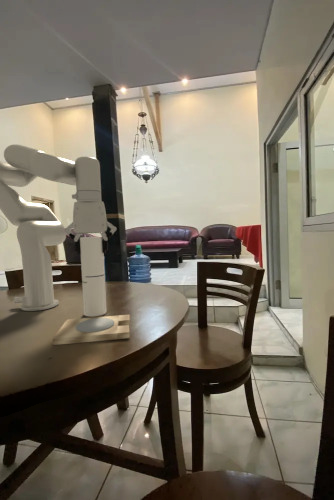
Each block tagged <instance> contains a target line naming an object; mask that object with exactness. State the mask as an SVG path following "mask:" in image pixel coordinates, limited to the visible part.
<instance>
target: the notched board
mask: <svg viewBox="0 0 334 500" xmlns="http://www.w3.org/2000/svg"><path fill="white" fill-rule="evenodd" d="M130 323H131V315H130V314H119V315H107V316H105V315H104V316H93V317H83V318H70V319H69V318H67V319H66V320H65V321H64V323H63V324H62V326H61V327H60V328H59V330H58V331H57V333H55V335H54V336H53V338H52V345H53V346H57V345H58V346H59V345H68V344H69V345H71V344H78V343H79V344H81V343H90V342H91V343H92V342H101V341H113V340H122V339H123V340H125V339H130V330H131V329H130Z"/></svg>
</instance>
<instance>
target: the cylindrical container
mask: <svg viewBox="0 0 334 500" xmlns="http://www.w3.org/2000/svg"><path fill="white" fill-rule="evenodd" d="M102 241H103V237H102V236H84V237H83V236H81V237H80V251H81V254H80V263H81V264H80V266H81V267H80V269H81V283H82V285H81V287H82V301H83V315H84V316H85V317H89V318H92V317H101V316H103V315H105V314H106V313H107V294H106V275H105V255H104V254H105V253H103V246H102Z"/></svg>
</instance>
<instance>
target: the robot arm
mask: <svg viewBox="0 0 334 500" xmlns="http://www.w3.org/2000/svg"><path fill="white" fill-rule="evenodd" d="M3 157H4V160H5V161H6V162H5V161H0V211H1V213H3V214H4V216H5V217H6V218H7V220H8V222H9V223H10V224H12V225H13V226H16V227H17V229H16V239H17V242H18V246H19V248H20V249H19V250H20V254H21V263H22V273H23V274H22V275H23V287H24V288H23V289H24V295H23V296H14V297H13V303H15V304H20V303H21V304H22V305H21V306H20V309H21V310H22V311H25V312H37V311H44V310H49V309H51V308H54V307H57V306H58V305H59V303H60V302H59V300H58V299H56V298H55V296H54V295H55V291H54V280H53V267H52V258H51V254H50V252H49V251H48V249H47V248H46V247H49V246H50V247H52V246H53V247H54V246H59V245H61V244H63V243H64V242H65V240H66V239H67V236H68V237H70V238H71V240H73V241H74V243H75V245H74V246H75V253H76V252H77V255H81V251H80V237H83V234H100V237H103V241H102V246H103V253H104V254H106V253H107V251H108V250H109V247H108V243H109V242H108V240H110V238H111V237H112V236H113V235H114V233H115V232H116V231H117V227H116V226H114V225H113V224H112V223H110V222H109V221H108V219H107V213H106V212H107V211H106V207H105V203H104V201H102V184H101V165H100V164H101V163H100V161H99V160H98V159H97V158H95V157H92V156H80V157H77V158H76V159H75V160H74V161H73V160H69V159H66V158H63V157H59V156H56V155H53V154H48V153H46V152H44V151H43V150H40V149H36V148H32V147H28V146H25V145H22V144H10V145H8V146H7V147H6V148H4V151H3ZM37 178H41V179H44V180H47V181H51V182H55V183H59V184H60V183H61V184H66V185H69V186H75V188H76V190H75V193H74V194H71V198H72V199H73V200H76V201H74V202H73V203H74V204H73V210H72V222H71V223H70V224H69V225H68V226H66V227H65V226H64V224H63V223H62V222H61V221H60V219H59V218H58V217H57V216H56V215H55V213H54V212H53V211H52V210H51V208H50V207H48V205H45V204H43V203H40V202H34V201H33V202H31V201H28V200H27V201H26V200H25V199H23V197H21V196H20V194H19V193H18V192H17V191H16V190H15V189H14V188H12V187H15V188H16V187H18V188H22V187H23V188H24V187H26V186H28V185H30V184H31V183H32V182H33V181H34V180H36V179H37ZM108 228H109V229H110V231H109V232H108V233H107V234H106V232H107V230H108ZM72 229H73V231H72ZM73 232H74V233H76V234H74V233H73Z"/></svg>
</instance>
